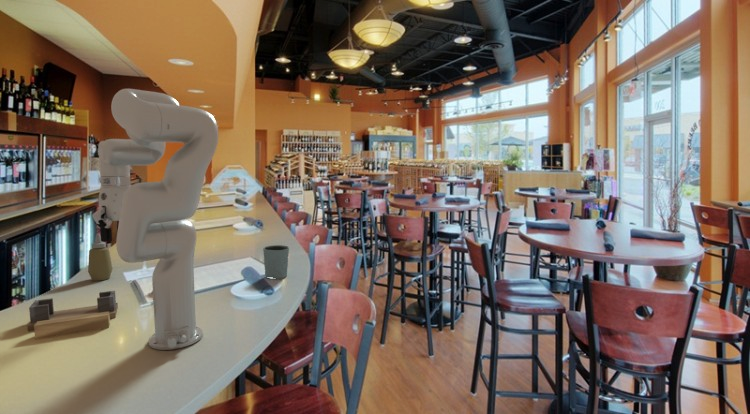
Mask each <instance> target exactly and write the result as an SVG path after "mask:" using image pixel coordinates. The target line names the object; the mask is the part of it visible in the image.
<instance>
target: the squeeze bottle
mask: <svg viewBox="0 0 750 414" xmlns="http://www.w3.org/2000/svg"><path fill="white" fill-rule="evenodd" d="M106 245H107V242H103V241H101V235H100V233H96V234H95V239H94V242H93V243H91V249H90V248H89V250H88V265H87V272H88V274H89V277H90V279H91V280H92V281H94V282H96V281H98V282H99V281H105V280H108V279H110V278H111V276H112V275H111V274H112V272H113V269H114V268H113V264H112V260H111V252H110V248H108V247H107V246H106Z"/></svg>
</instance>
